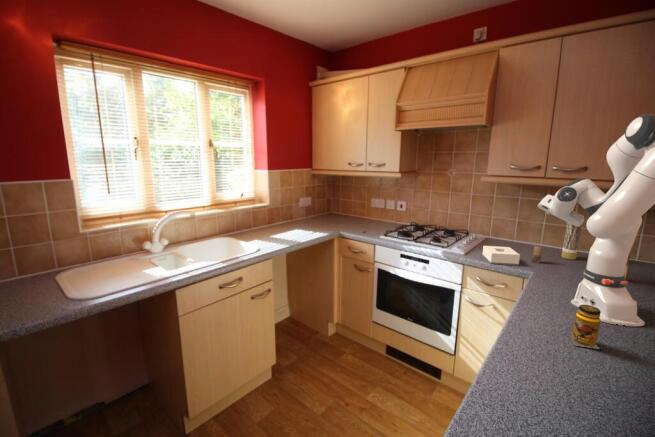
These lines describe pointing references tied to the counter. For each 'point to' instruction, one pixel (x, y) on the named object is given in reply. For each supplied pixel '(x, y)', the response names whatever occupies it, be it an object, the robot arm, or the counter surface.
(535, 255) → the peg
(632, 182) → the robot arm
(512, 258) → the socket block
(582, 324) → the condiment
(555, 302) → the counter surface
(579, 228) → the bark patterned cylinder
